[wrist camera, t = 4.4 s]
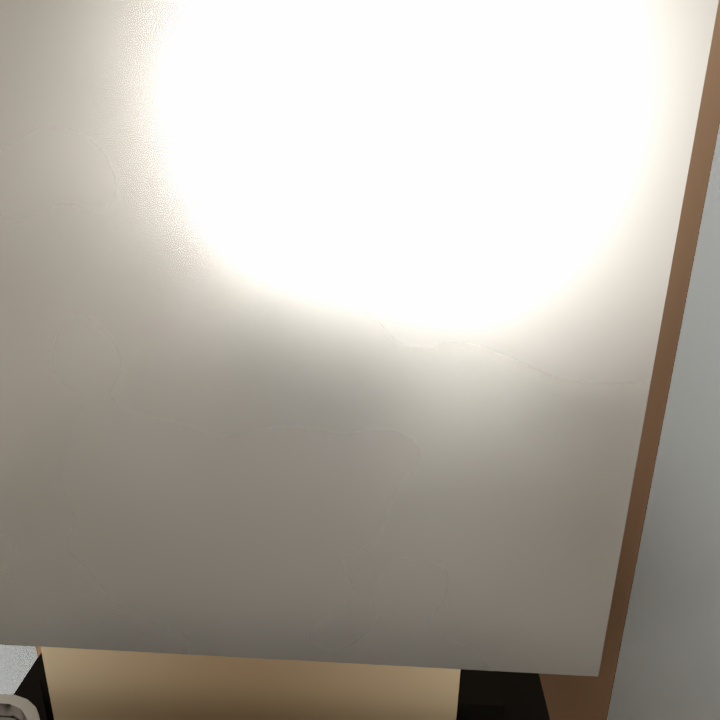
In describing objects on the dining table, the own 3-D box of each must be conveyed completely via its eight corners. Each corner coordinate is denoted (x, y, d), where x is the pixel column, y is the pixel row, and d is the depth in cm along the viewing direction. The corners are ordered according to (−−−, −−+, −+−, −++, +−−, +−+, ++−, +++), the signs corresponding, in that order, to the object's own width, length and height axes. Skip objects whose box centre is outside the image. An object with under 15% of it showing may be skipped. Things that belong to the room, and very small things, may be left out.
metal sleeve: (547, -322, 8) (1020, -1684, 2) (487, 358, 12) (598, 676, 5) (87, -318, 9) (-796, -1511, 2) (151, 347, 12) (-143, 637, 5)
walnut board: (753, -309, 10) (814, -379, 8) (548, 897, 19) (560, 963, 17) (-80, -300, 10) (-157, -367, 9) (111, 868, 19) (89, 928, 18)
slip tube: (489, -328, 7) (598, -841, 3) (413, 870, 13) (418, 1175, 10) (100, -324, 7) (-237, -804, 3) (207, 856, 13) (131, 1150, 10)
